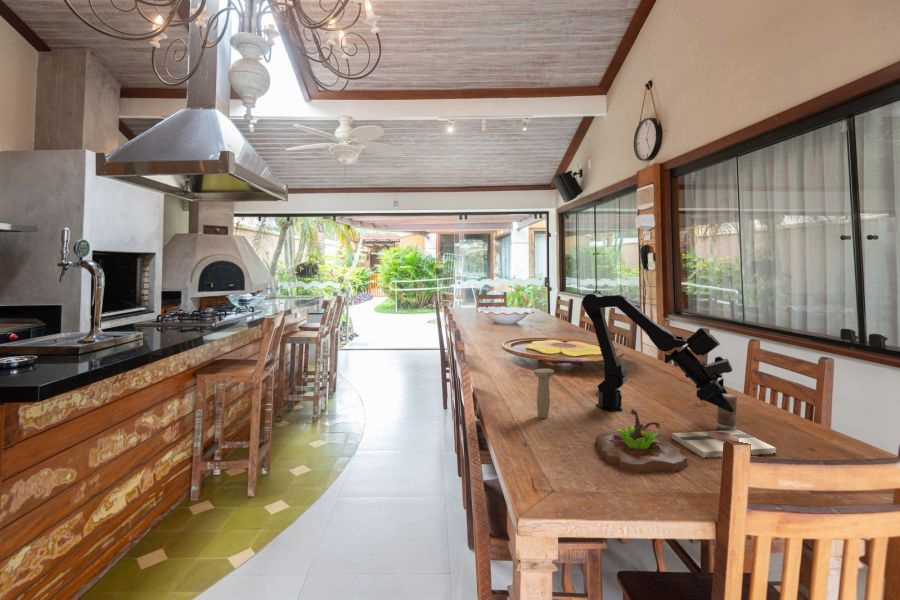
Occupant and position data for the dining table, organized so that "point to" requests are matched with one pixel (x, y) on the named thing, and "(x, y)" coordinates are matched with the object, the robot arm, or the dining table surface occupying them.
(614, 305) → the robot arm
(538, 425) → the dining table surface
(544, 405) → the handle
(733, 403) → the grey-brown upright cylinder
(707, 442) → the board
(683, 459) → the plant
